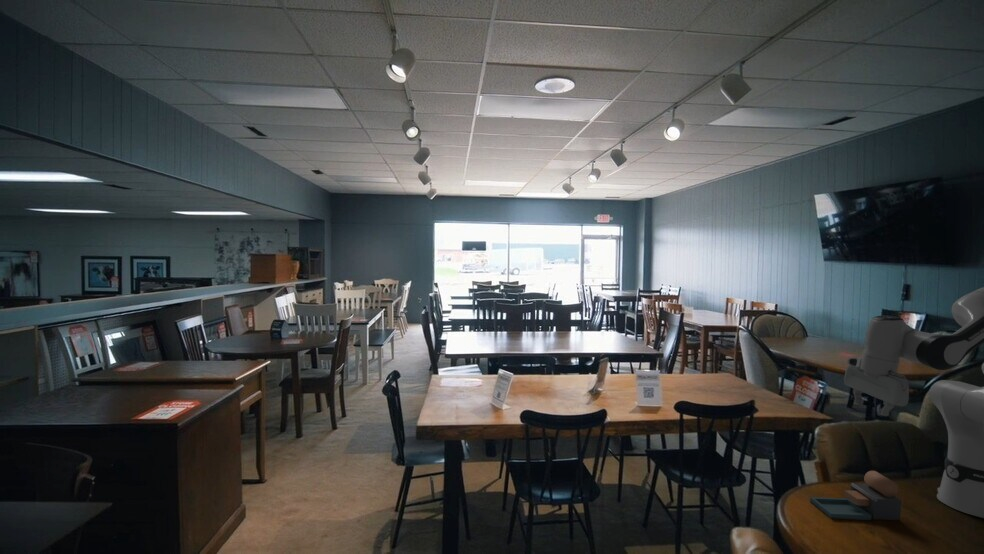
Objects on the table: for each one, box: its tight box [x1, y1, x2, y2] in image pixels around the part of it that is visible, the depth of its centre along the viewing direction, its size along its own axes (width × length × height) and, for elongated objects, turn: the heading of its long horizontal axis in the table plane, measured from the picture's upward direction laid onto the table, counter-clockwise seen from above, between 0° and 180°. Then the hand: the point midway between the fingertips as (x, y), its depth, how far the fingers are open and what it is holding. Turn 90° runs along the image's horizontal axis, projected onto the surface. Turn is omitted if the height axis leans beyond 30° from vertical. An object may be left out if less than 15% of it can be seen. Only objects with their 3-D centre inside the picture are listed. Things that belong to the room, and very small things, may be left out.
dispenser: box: [850, 470, 902, 521], centre depth 138 cm, size 8×9×11 cm
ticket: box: [843, 489, 871, 506], centre depth 138 cm, size 9×5×2 cm, turn 89°
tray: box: [809, 496, 872, 521], centre depth 138 cm, size 12×9×2 cm
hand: (870, 409), depth 139 cm, fingers open, 8 cm apart
